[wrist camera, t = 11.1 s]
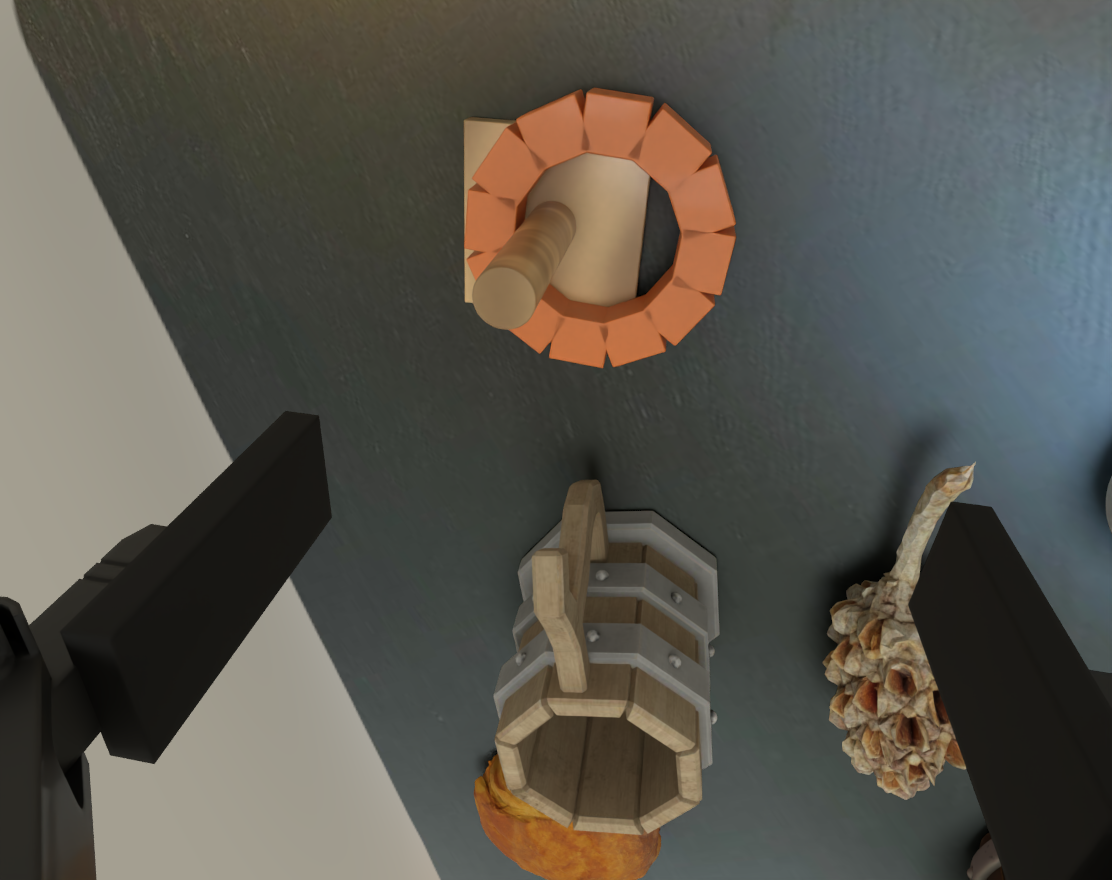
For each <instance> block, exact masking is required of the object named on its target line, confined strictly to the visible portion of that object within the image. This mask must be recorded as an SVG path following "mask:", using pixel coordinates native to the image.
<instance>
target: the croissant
mask: <svg viewBox="0 0 1112 880" xmlns="http://www.w3.org/2000/svg"><path fill="white" fill-rule="evenodd" d="M488 762H489V767H487V769H486V772H485V773H484V774H483V777H482V776H480V777H479V778H478V779H477V780H476V781H475V789H474V797H475V802H476V806H477V809H478V812H479V815H480V820H481V824H482V827H483V829H484V831H485V833H486V835H487V836H488V837H489V839H490V840H491V841H492V842H493V843H494V844H495V845H496V846H497V847H498V848H499V849H500V850H501V851H502V852H503V853H504V854H505V855H506V856H507V857H509V858H510V859H512V860H513V861H515V862H517V864H518V865H519V866H520V867H521V868H522V869H525V870H527V871H530V872H532V873H534V874H535V875H539V876H542V877H543V878H545V879H548V880H636V879H638V878H641V877H643V876H644V875H645V874H646V873H647V871H648V869H649V868H650V866H651V865H652V863H653V862H654V861H655V860H656V858H657V856H658V855H659V851H660V847H661V836H660V834H659V831H660V827H659V828H657V829H655V830H653V831H652V832H650V833H647V832H646V831H645V829H644V834H642V835H635V834H621V833H607V832H593V831H579V830H574V829H573V821H572V822H571V824H570V825H569V826H568V828H566V827H565V826H563V825H561V824H560V823H558V822H557V821H555V820H553V819H552V818H550V817H548V816H547V815H545V814H543V813H542V812H540V811H539V810H537V809H535V808H534V807H532V806H530V805H529V804H527V803H526V802H524V801H522V800H521V799H519V798H517V797H516V796H514V795H513V794H512V793H511V791H509V789H508V788H507V786H506V782H505V778H504V774H503V770H502V767H501V763H500V759H499V755H498V754H497V755H495V756H493V759H492V760H491V761H488Z"/></svg>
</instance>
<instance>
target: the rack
mask: <svg viewBox="0 0 1112 880" xmlns="http://www.w3.org/2000/svg"><path fill="white" fill-rule="evenodd" d="M514 122H516V121H514V120H502V119H490V118H478V117H470V118H467V119H465V120H464V236H465V226H466V211H467V196H468V189H470V188H471V187H472V186H474V185H475V184H476V182H475V181H474V180H473V179H472V177H473V175H474V174H475V172H476V171H477V169H478V168H479V166H480V165H481V164H482V162H483V161H484V159H485V158H486V156H487V155H488V153H489V152H490V150H491V149H492V147H493V146H494V144H495V143H496V141H497V140H498V138H499V137H500V135H501V134H502V132H503V131H504V130H505V128H506V127H508V126H509V125H511V124H513V123H514ZM650 179H651V177H650V176H649V175H648V174H647V173H646V172H645V171H644V170H642V169H641V168H640V167H639V166H638V165H637V164H636V163H634V162H633V161H632V160H626V159H620V158H614V157H608V156H602V155H596V154H590V153H585V154H583V155H580V156H578V157H575V158H573V159H571V160H568V161H566V162H563V163H561V164H558V165H556V166H553V167H551V168H549V169H547V170H546V171H545V173H544V174H543V175H542V177H541V178H540V179H539V181H538V182H537V184H536V185H535V186H534V188H533V189H532V190H531V192H530V193H529V194H528V196H527V204H526V213H525V221H524V222H523V223H522V224H521V225H520V227H519V228H518V229H517V230H516V232H515V233H514V234H513V235H512V236H511V238H510V239H509V240H508V241H507V243H506V244H505V245H504V246H503V248H502V249H501V250H500V251H499V252H498V254H497V255H496V256H495V257H494V259H493V260H492V261H491V262H490V263H489V265H488V266H487V267H486V268H485V270H484V271H483V272H482V273H481V274H480V276H479V277H478V278H477V280H475V278H474V276H473V274H472V272H471V270H470V267H469V265H468V263H467V261H466V259H467V258H468V257H469V256H470V255H471V254H472V253H473V252H474V250H469V249H465V302H469V303H473V304H474V307H475V309H476V311H477V313H478V314H479V316H480V317H481V318H482V319H483V320H484V321H485V322H486V323H488V324H489V325H491V326H493V327H495V328H499V329H506V330H508V329H515V328H518V327H520V326H522V325H524V324H525V323H527V322H528V321H529V320H530V318H531V317H532V315H533V313H534V312H535V310H536V308H537V306H538V304H539V302H540V300H541V298H542V296H543V295H544V293H545V291H546V289H547V287H548V285H549V284H550V285H552V286H553V287H554V288H555V289H557V290H558V291H559V292H560V293H562V294H563V295H564V296H565V297H566V298H568V299H569V300H572V301H577V302H583V303H588V304H594V305H599V306H604V307H610V306H613V305H616V304H619V303H622V302H625V301H628V300H631V299H634V298H636V296H637V288H638V279H639V271H640V263H641V254H642V246H643V238H644V229H645V221H646V213H647V204H648V196H649V187H650Z"/></svg>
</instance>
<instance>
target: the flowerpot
mask: <svg viewBox="0 0 1112 880" xmlns="http://www.w3.org/2000/svg"><path fill="white" fill-rule="evenodd" d="M967 875H968V877H969V878H970V880H1006V878H1005V875H1004V872H1003V869H1002V866H1001V864H1000V861H999V858H998V855H997V852H996V850H995V847H994V844H993V841H992V838H991V836H990V833H988V834H986V835H985V836H984V837H983V838H982V840H981V843H980V849H979V850H978V851H977V852H976V853H975V855H974V856H973V859H972V862H971V866H970V868H969V869H968V870H967Z"/></svg>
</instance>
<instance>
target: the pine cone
mask: <svg viewBox="0 0 1112 880" xmlns="http://www.w3.org/2000/svg"><path fill="white" fill-rule="evenodd" d="M975 463H976V462H975ZM975 463H974V464H973V465H971V466H962V467H955V468H948V469H945V470H944V471H942V472H941V473H940V474H938V475H937V476H935V477H934V478H933V479H932V480H931V481H930V482H929V483H928V484H927V485H926V488H925V491H924V493H923V494H922V496H921V498H920V499H919V501H918V503H917V506H916V508H915V511H914V513H913V515H912V517H911V518H910V521H909V524H908V527H907V530H906V532H905V534H904V537H903V539H902V543H901V544H900V546H899V548H898V550H897V552H896V553H897V558H896V563H895V565H894V567H893V569H892V570H891V572H888V573H883V574H884V575H885V577H882V578H881V579H880V580H879V582H872V581H867V580H864V581H863V582H862V583H861V585H859V584H854V585H853V586H851V587H849V589H848V590H847V591H846V593H847V599H848V600H844V601H840V602H837V603H836V604H835V605H834V606H833V607H832V608H831V610H830V613H831V616H832V622H833V623H832V625H831V626H830V627H829V629H828V632H827V634H828V636H829V637H830V638H831V639H832V640H834V641H835V642H836V643H837V644H838V646H837V648H836V649H835V650H833V651H831V652H830V653H829V654H828V656H827V657H826V658H825V660H824V661H823V664H824V665H825V667H826V668H827V670H826V672H825V675H826V677H827V678H828V680H829V681H831V682H833V683H835V684H837V685H838V688H837V691H836V695H835V696H833V697H832V698H831V701H830V707H829V708H830V716H829V721H831V722H832V723H833V724H834V725H836V726H837V727H838V728H839V729H843V730H847V731H848V733H847V736H846V739H845V740H844V741H843V742H842V746H843V751H844V752H845V753H847V754H848V755H849V756H850V757H852V760H851V763H852V765H853V766H854V768H855V769H856V770H857V772H859V773H863V774H868V775H870V774H871V773H872V772H874V773H875V775H876V778H877V786H880V787H882V788H883V789H884V790H885V792H886V793H890V792H892V793H893V794H895V795H897V796H899V797H901V798H903V799H905V800H907V799H909V798H910V797H912V798H913V797H914V796H915V793H916V791H921V790H926V789H927V788H928V787H930V785H929V780H931V782H932V783H933V785H934V786H935V777H936V775H938V774H939V773H940V772H942V771H943V769H944V768H943V765H944V763H945V760H947V761H948V762H949V763H950V764H951V765H953V766H954V767H958V768H961V769H964V770H965V769H966V766H965V763H964V760H963V757H962V755H961V752H960V749H959V746H958V743H957V741H956V738H955V735H954V732H953V729H952V727H951V724H950V721H949V718H948V715H947V713H946V710H945V707H944V704H943V701H942V699H941V696H940V693H939V690H938V687H937V685H936V682H935V679H934V676H933V673H932V671H931V668H930V665H929V662H928V660H927V657H926V654H925V651H924V648H923V646H922V643H921V640H920V637H919V634H918V632H917V629H916V626H915V623H914V620H913V618H912V615H911V612H910V609H909V606H908V603H909V601H910V598H911V596H912V594H913V591H914V589H915V586H916V584H917V582H918V579H919V577H920V576H919V575H920V566H921V556H922V554H923V551H924V549H925V546H926V544H927V542H928V539H929V537H930V535H931V533H932V531H933V529H934V527H935V524H936V522H937V521H938V519H939V518H940V516H941V515H942V513H943V512H944V511H945V509H946V508H947V507H948V506H949V504H950V502H953V501H954V500H955V499H956V497H957V496H958V495H959V494H960V493H961V492H963V491H965V490H967V489H970V487H971V485H972V482H973V479H974V478H973V469H974V465H975Z"/></svg>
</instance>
